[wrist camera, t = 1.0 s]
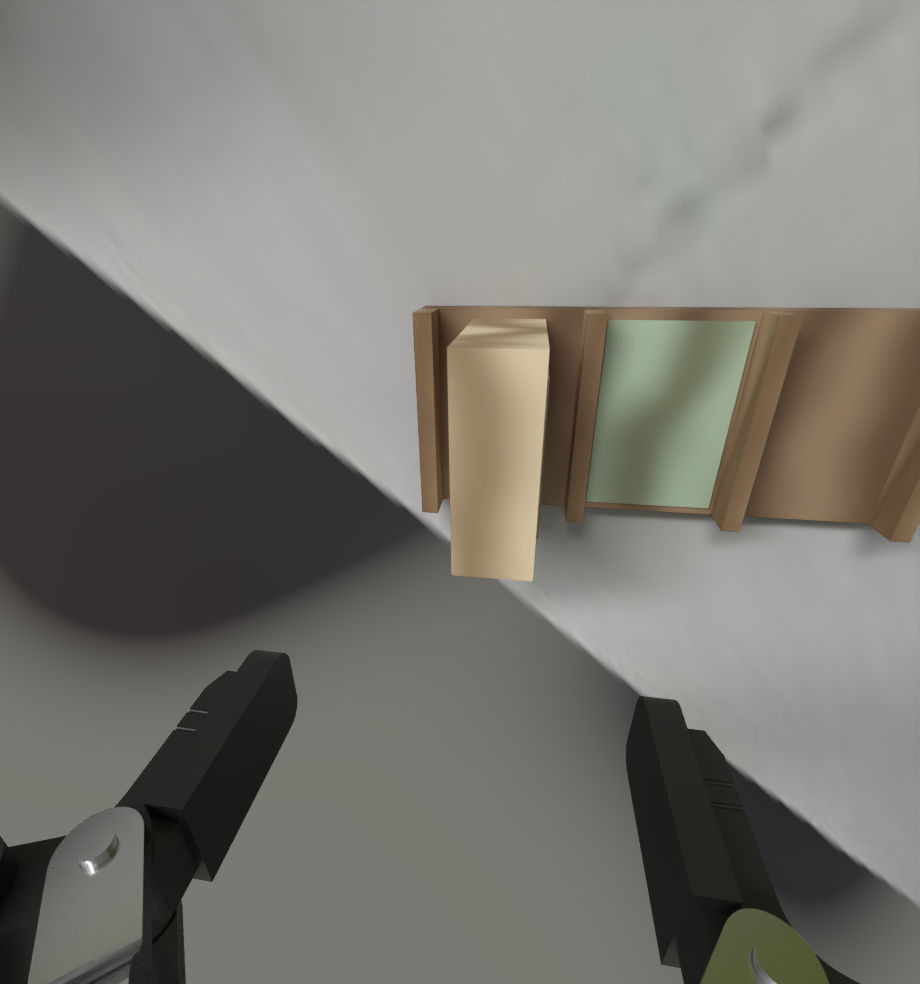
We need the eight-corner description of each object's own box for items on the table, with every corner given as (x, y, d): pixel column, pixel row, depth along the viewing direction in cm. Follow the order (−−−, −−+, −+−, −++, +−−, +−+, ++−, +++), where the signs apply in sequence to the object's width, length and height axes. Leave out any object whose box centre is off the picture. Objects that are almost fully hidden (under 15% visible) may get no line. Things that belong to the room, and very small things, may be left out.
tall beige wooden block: (548, 319, 26) (553, 349, 18) (536, 497, 31) (535, 581, 23) (470, 318, 27) (443, 347, 19) (470, 493, 32) (448, 574, 24)
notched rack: (958, 308, 25) (1018, 317, 22) (871, 512, 30) (909, 542, 27) (425, 305, 28) (412, 312, 25) (432, 488, 34) (422, 512, 31)
